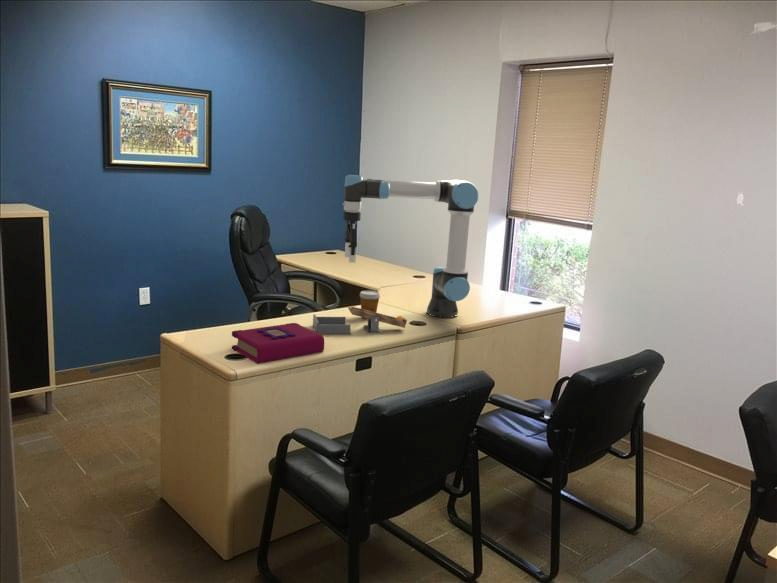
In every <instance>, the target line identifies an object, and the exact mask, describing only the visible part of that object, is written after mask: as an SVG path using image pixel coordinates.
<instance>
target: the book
mask: <svg viewBox="0 0 777 583" xmlns="http://www.w3.org/2000/svg"><path fill="white" fill-rule="evenodd" d="M231 337H233V338H235V339H237V343H236V344H233V345H231V350H232V349H233V350H234V352H235V351H237V352H238V353H237V352H236V353H237V354H239V353H240V354H239V355H241V354H242V355H241V356H243V355H244V356H243V357H244V358H246V357H247V359H248V358H249V359H248V360H250V361H252V362H253V361H254V362H253V363H255V364H262V363H268V362H273V361H278V360H283V359H284V360H285V359H291V358H295V357H301V356H306V355H311V354H317V353H318V352H319V353H323V352H324V351H325V350H324V349H325V337H324V334H319V333H317V332H315V330H312V329H309V328H307V327H306V326H303V325H301V324H300V323H297V322H291V323H285V324H277V325H270V326H264V327H254V328H249V329H240V330H233V331H231ZM233 350H232V351H233Z"/></svg>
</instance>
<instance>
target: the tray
mask: <svg viewBox="0 0 777 583" xmlns="http://www.w3.org/2000/svg"><path fill="white" fill-rule="evenodd" d="M312 317H313V318H312V320H313V321H312V328H314V329H315V330H314V332H317V333H319V334H321V335H351V324H346V322H347V321H346V320H347V319H346V316H316V314H313V316H312Z"/></svg>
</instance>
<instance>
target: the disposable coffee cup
mask: <svg viewBox="0 0 777 583" xmlns="http://www.w3.org/2000/svg"><path fill="white" fill-rule="evenodd" d="M359 298H360V309H364V310H368V311H372V312H376V313H378V312H377V311H378V306H379V301H380V298H381V294H380V292H378V291H375V290H361V291H360V293H359ZM361 319H363V320H366V319H368V318H364V317H361Z"/></svg>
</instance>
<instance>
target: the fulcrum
mask: <svg viewBox="0 0 777 583" xmlns="http://www.w3.org/2000/svg"><path fill="white" fill-rule="evenodd" d="M379 326H380V322H379V317H372V318H371V319H368V320H367V325H366V324H364V325H363V328H364V330H365V331H366V330H367V331H366V332H367V334H368V333H382V334H383V331H382V330H381V328H380V327H379Z"/></svg>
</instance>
